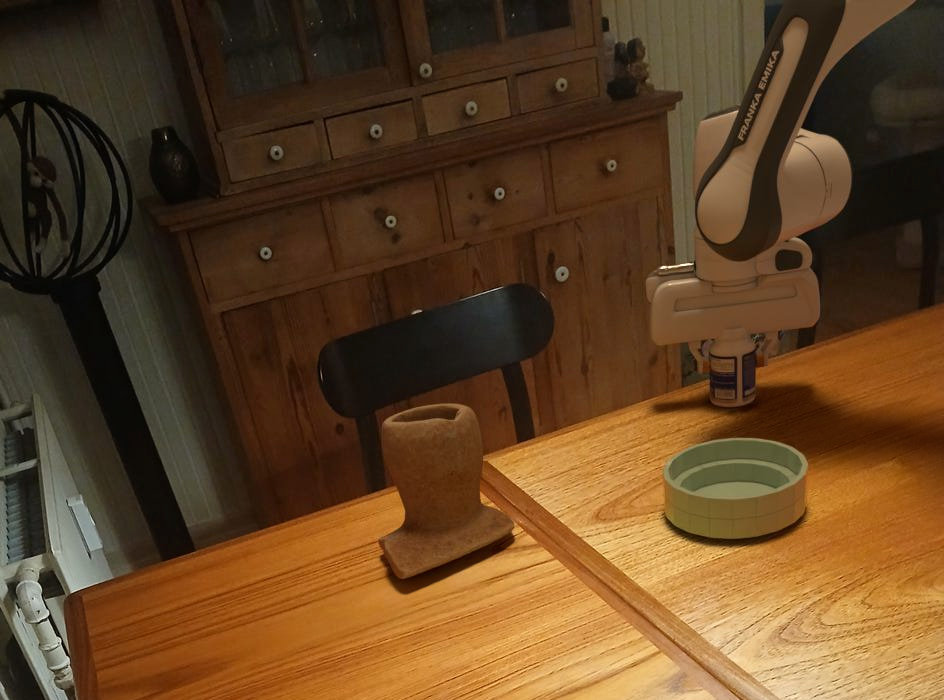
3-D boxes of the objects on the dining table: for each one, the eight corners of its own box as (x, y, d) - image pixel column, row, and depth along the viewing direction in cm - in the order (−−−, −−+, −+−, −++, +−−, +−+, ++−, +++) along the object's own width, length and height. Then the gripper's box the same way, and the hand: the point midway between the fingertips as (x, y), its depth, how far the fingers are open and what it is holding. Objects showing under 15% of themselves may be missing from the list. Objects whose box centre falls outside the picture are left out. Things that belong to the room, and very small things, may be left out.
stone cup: (472, 505, 113) (451, 379, 105) (530, 540, 104) (513, 406, 96) (355, 553, 108) (324, 425, 100) (407, 594, 99) (377, 457, 91)
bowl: (791, 474, 108) (792, 431, 105) (818, 536, 96) (821, 490, 93) (659, 487, 110) (657, 445, 107) (671, 550, 98) (669, 505, 95)
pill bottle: (744, 388, 129) (745, 312, 124) (763, 402, 125) (764, 324, 119) (702, 397, 129) (701, 322, 124) (719, 412, 124) (719, 334, 119)
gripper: (646, 275, 116) (651, 387, 124) (826, 250, 113) (820, 367, 120) (642, 261, 121) (647, 370, 129) (814, 238, 118) (809, 351, 126)
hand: (732, 369), depth 125 cm, fingers closed on pill bottle, 6 cm apart
